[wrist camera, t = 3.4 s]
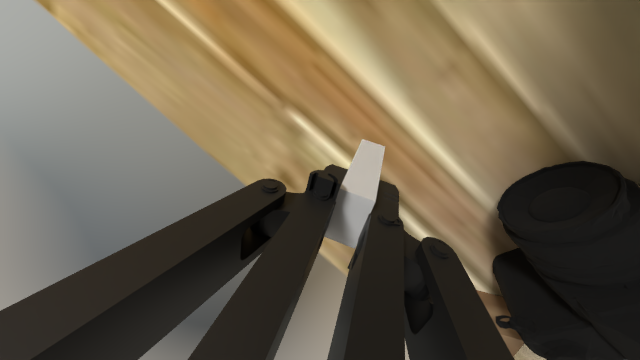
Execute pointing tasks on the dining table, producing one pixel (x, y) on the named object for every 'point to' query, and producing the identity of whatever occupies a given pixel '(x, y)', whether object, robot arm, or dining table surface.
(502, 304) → the oak chock block
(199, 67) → the dining table surface
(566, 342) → the film camera
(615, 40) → the dining table surface
